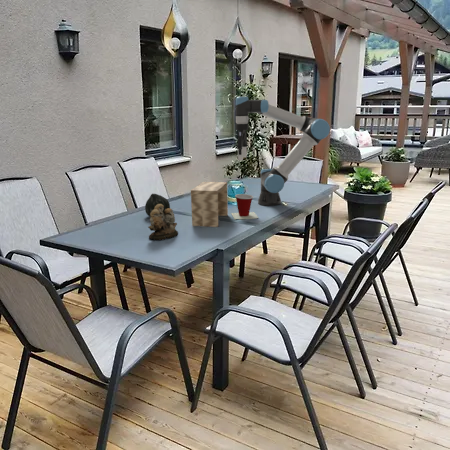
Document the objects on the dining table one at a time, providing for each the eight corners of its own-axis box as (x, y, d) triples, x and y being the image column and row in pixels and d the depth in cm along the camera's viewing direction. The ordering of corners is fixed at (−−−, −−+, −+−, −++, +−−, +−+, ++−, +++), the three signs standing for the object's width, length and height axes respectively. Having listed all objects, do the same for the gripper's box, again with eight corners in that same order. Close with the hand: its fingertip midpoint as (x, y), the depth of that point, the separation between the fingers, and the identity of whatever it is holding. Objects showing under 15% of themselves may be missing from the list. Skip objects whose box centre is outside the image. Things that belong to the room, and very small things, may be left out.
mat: (253, 212, 272) (253, 211, 272) (258, 218, 259) (258, 217, 259) (231, 213, 270) (231, 213, 270) (234, 219, 257) (234, 218, 257)
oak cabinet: (227, 215, 267) (227, 182, 262) (217, 226, 243) (216, 190, 238) (204, 214, 271) (203, 181, 265) (192, 225, 246) (190, 190, 241)
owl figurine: (159, 243, 218) (156, 209, 213) (142, 239, 225) (139, 206, 220) (183, 233, 232) (181, 201, 227) (167, 230, 239) (164, 199, 234)
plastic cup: (250, 218, 258) (250, 197, 255) (232, 216, 261) (232, 196, 258) (255, 213, 268) (255, 194, 264) (238, 212, 271) (238, 193, 268)
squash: (177, 205, 271) (161, 186, 270) (168, 212, 257) (150, 192, 256) (162, 219, 277) (146, 201, 276) (152, 226, 263) (135, 207, 262)
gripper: (244, 124, 255) (244, 161, 261) (251, 122, 279) (251, 156, 284) (231, 124, 257) (232, 161, 263) (239, 122, 280) (240, 156, 286)
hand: (242, 158), depth 273 cm, fingers open, 13 cm apart
